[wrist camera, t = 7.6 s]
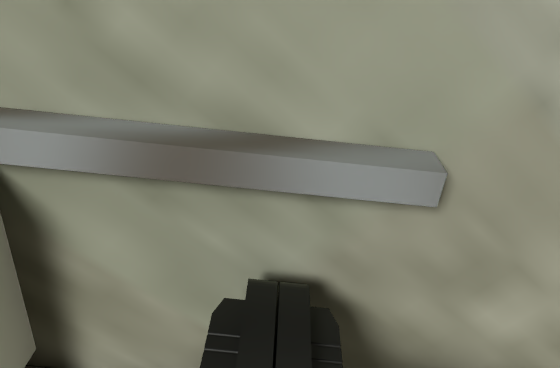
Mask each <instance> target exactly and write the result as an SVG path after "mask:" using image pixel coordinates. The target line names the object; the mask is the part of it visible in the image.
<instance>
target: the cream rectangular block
mask: <svg viewBox="0 0 560 368" xmlns="http://www.w3.org/2000/svg"><path fill="white" fill-rule="evenodd" d="M35 350H36V346H35V342H34V338H33V334H32V330H31V326H30V323H29V319H28V315H27V311H26V307H25V304H24V300H23V296H22V292H21V288H20V285H19V281H18V277H17V273H16V269H15V266H14V262H13V258H12V254H11V250H10V247H9V243H8V239H7V235H6V231H5V228H4V224H3V220H2V216H1V212H0V368H25V366H26V365H27V363H28V361H29V360H30V358H31V357H32V355H33V353H34V352H35Z"/></svg>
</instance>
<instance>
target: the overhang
mask: <svg viewBox="0 0 560 368" xmlns="http://www.w3.org/2000/svg"><path fill="white" fill-rule="evenodd" d="M0 164H9V165H19V166H29V167H39V168H49V169H59V170H69V171H79V172H89V173H99V174H109V175H119V176H129V177H139V178H149V179H159V180H169V181H179V182H189V183H199V184H209V185H219V186H229V187H239V188H249V189H259V190H269V191H279V192H289V193H299V194H309V195H319V196H329V197H339V198H349V199H358V200H368V201H378V202H388V203H398V204H408V205H418V206H428V207H437V205H438V202H439V199H440V196H441V193H442V189H443V186H444V183H445V180H446V177H447V174H448V173H447V172H446V170H445V169H444V167H443V165H442V164H441V162H440V161H439V159H438V157H437V156H436V154H435V153H434V152H429V151H420V150H410V149H400V148H390V147H381V146H371V145H361V144H352V143H342V142H332V141H322V140H313V139H303V138H293V137H283V136H274V135H264V134H254V133H245V132H235V131H225V130H215V129H206V128H196V127H186V126H176V125H167V124H157V123H147V122H138V121H128V120H118V119H108V118H99V117H89V116H79V115H69V114H60V113H50V112H40V111H31V110H21V109H11V108H1V107H0ZM25 368H43V367H32V366H25Z"/></svg>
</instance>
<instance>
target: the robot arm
mask: <svg viewBox="0 0 560 368" xmlns="http://www.w3.org/2000/svg"><path fill="white" fill-rule="evenodd" d="M276 299H277V303H276ZM340 346H341V344H340V335H339V326H338V324H337V322H336V321H335V319H334V317H333V316H332V314H331V312H330V311H329V309H327V308H317V307H310V296H309V285H305V284H296V283H286V282H280V283H279V289H278V296H277V282H275V281H266V280H256V279H248V285H247V292H246V299H245V300H239V299H229V298H224V299H223V301H222V302H221V303H220V304H219V305H218V307H217V308H216V309H215V310H214V312H213V313H212V317H211V321H210V325H209V330H208V336H207V339H206V343H205V348H204V352H203V357H202V361H201V365H200V368H343V365H342V354H341V349H340Z"/></svg>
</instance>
